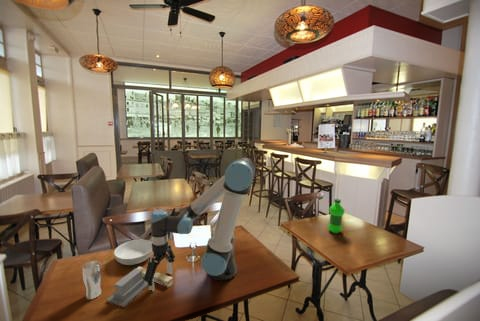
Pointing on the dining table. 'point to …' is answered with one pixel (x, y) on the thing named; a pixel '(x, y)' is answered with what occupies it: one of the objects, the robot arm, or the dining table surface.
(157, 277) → the beech bar
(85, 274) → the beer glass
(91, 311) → the dining table surface
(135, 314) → the dining table surface
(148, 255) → the serving bowl
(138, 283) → the slate ridge
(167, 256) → the robot arm
